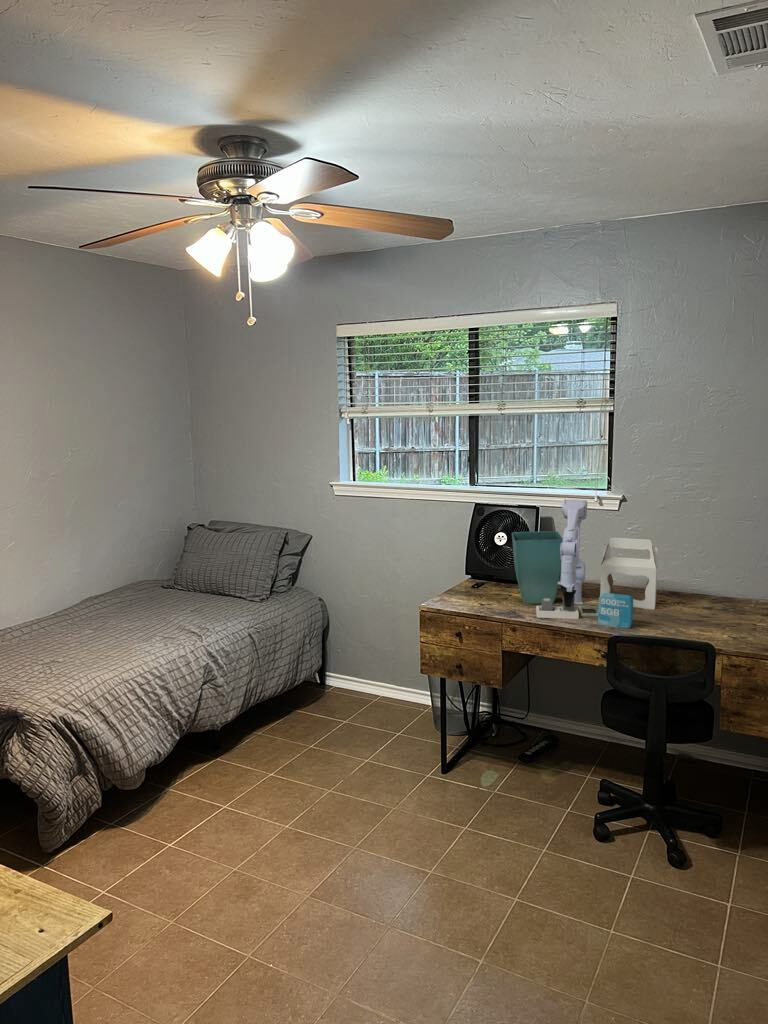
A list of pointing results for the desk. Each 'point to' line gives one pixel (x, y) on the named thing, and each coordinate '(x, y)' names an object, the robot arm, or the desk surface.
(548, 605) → the twin plug
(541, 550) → the flower pot
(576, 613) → the cream shallow box
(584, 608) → the tray
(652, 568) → the gable box
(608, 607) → the data package
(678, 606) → the desk surface
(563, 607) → the plug
